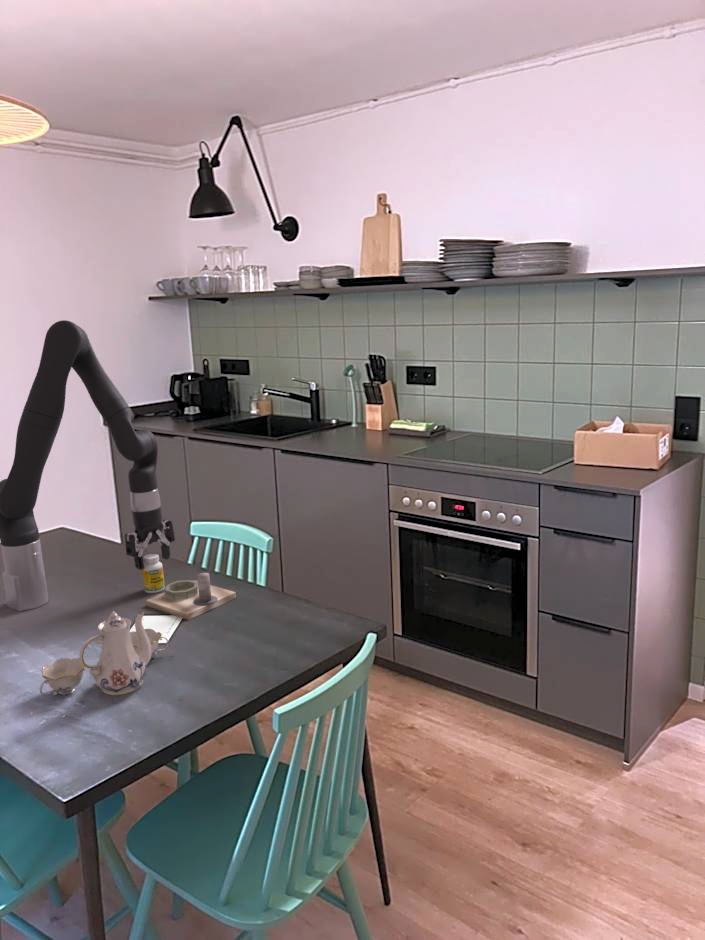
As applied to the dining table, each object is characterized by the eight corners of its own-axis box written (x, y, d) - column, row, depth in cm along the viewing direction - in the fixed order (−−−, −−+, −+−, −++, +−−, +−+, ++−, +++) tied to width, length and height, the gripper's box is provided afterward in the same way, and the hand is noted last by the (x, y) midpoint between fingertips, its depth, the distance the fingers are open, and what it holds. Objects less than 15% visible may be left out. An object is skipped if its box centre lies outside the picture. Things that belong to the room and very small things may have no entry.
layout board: (189, 620, 185) (186, 587, 183) (146, 605, 195) (143, 574, 193) (237, 598, 197) (234, 567, 195) (195, 585, 207) (192, 555, 205)
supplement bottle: (158, 584, 209) (155, 551, 207) (168, 589, 205) (165, 555, 203) (140, 590, 206) (136, 556, 203) (150, 595, 202) (147, 561, 200)
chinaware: (148, 651, 174) (136, 581, 171) (195, 664, 163) (182, 590, 160) (33, 705, 153) (16, 627, 150) (77, 724, 142) (60, 640, 139)
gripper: (158, 497, 208) (165, 553, 212) (114, 511, 197) (122, 570, 201) (176, 500, 204) (183, 557, 208) (132, 515, 193) (140, 575, 197)
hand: (153, 563), depth 205 cm, fingers open, 8 cm apart
